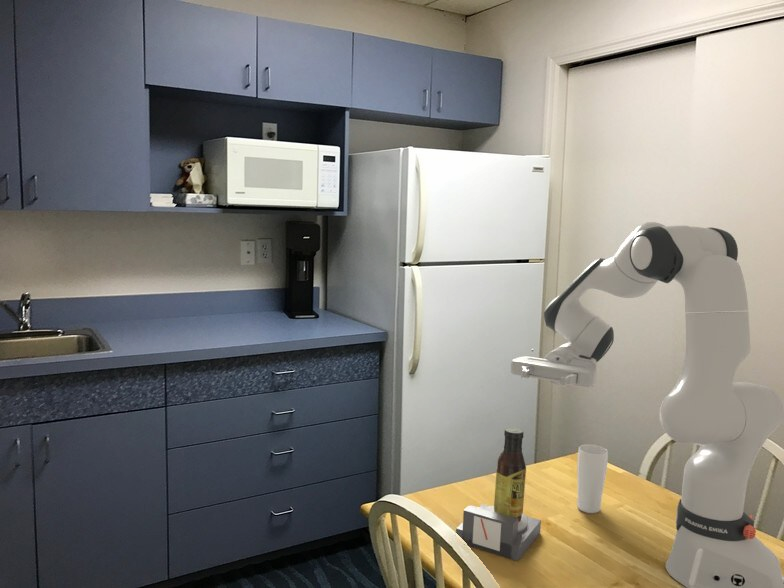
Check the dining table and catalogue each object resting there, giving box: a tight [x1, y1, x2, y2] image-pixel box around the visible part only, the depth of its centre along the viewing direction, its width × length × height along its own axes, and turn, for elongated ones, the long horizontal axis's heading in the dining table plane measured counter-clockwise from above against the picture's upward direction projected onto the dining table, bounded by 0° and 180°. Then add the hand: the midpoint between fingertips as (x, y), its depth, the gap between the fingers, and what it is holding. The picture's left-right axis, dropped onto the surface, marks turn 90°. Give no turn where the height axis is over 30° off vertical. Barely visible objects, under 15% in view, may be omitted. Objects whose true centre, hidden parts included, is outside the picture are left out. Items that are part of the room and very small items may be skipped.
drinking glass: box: [576, 444, 609, 514], centre depth 160 cm, size 7×7×15 cm
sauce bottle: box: [493, 427, 527, 522], centre depth 145 cm, size 6×6×20 cm
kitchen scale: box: [455, 503, 542, 562], centre depth 146 cm, size 14×14×8 cm
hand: (543, 378), depth 156 cm, fingers open, 8 cm apart
